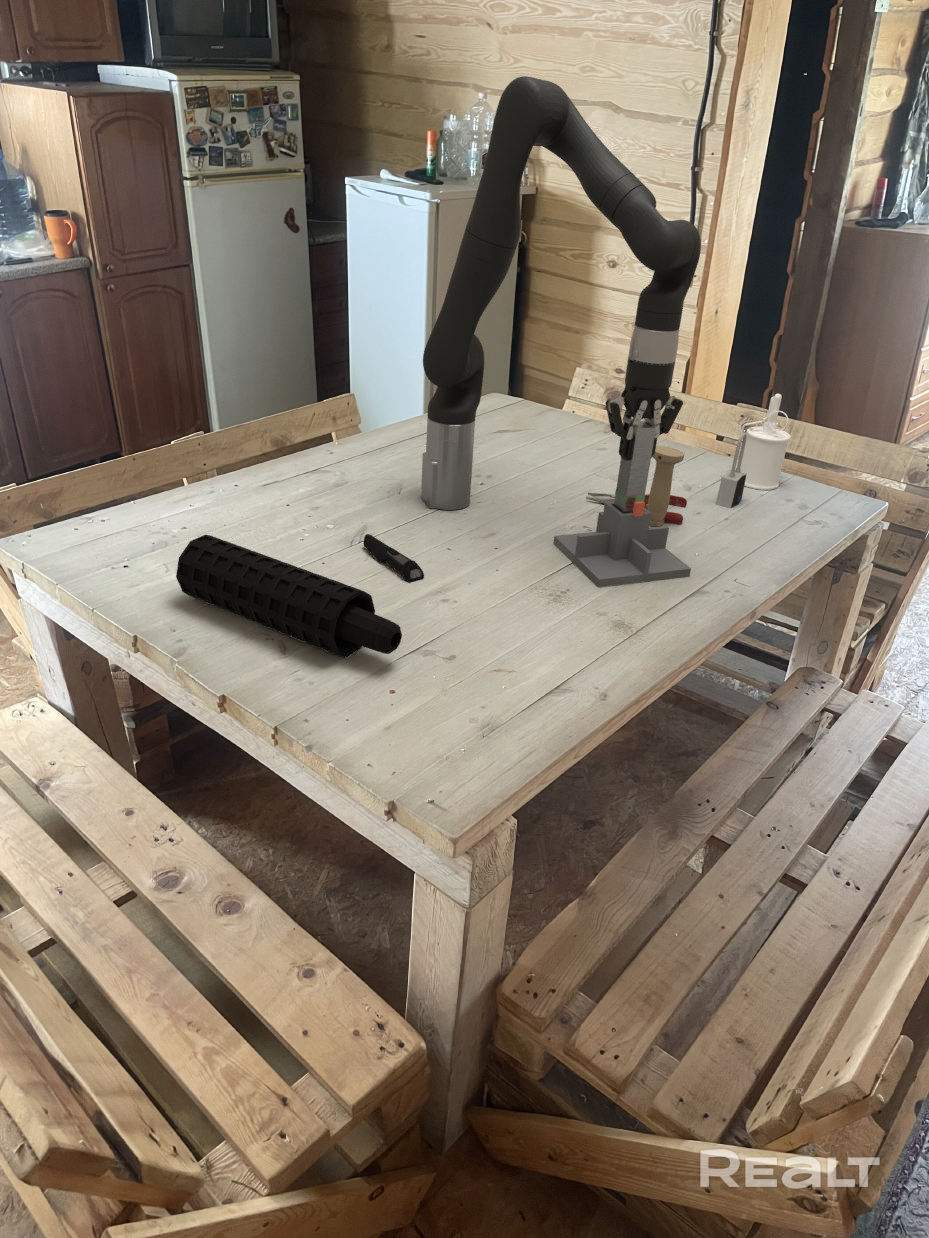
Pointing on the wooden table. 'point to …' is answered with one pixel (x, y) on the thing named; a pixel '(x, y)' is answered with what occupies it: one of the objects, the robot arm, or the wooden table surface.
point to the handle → (662, 482)
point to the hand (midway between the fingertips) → (635, 457)
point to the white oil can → (765, 450)
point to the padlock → (733, 480)
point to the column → (635, 469)
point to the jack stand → (623, 549)
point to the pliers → (669, 517)
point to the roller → (284, 598)
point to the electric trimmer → (393, 559)
